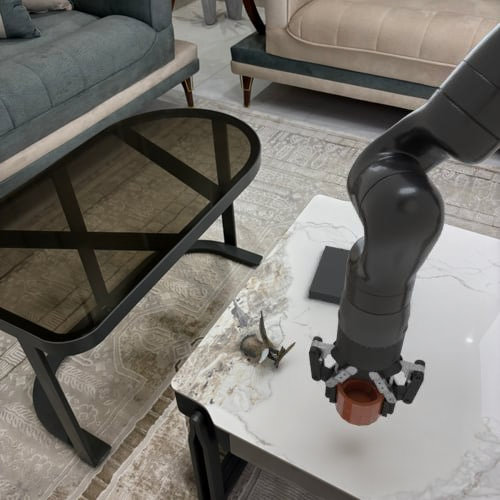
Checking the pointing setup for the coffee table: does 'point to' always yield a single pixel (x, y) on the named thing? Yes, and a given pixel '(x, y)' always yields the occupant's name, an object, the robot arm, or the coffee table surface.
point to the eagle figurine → (263, 346)
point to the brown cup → (358, 401)
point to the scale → (330, 275)
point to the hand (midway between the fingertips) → (358, 403)
